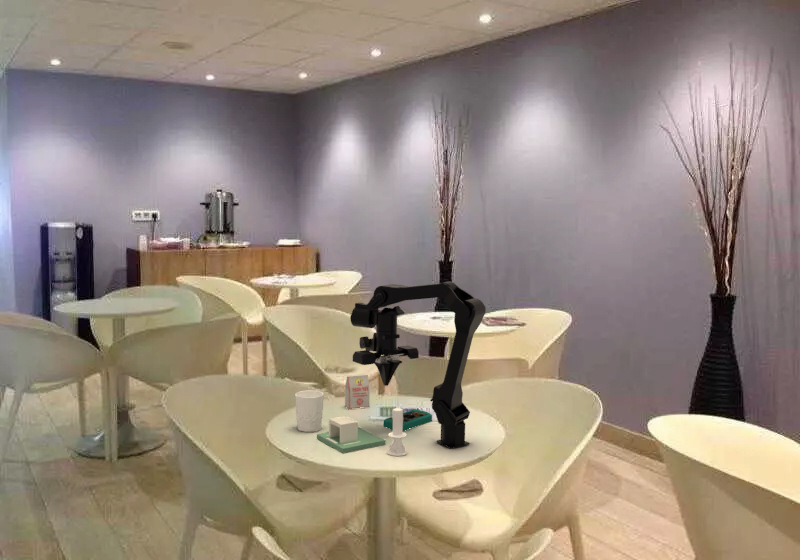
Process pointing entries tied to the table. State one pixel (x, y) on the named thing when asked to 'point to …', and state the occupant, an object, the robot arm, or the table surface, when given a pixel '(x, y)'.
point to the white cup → (309, 410)
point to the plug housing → (343, 429)
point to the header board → (362, 442)
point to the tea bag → (357, 392)
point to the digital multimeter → (410, 419)
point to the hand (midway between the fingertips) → (385, 385)
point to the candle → (397, 434)
